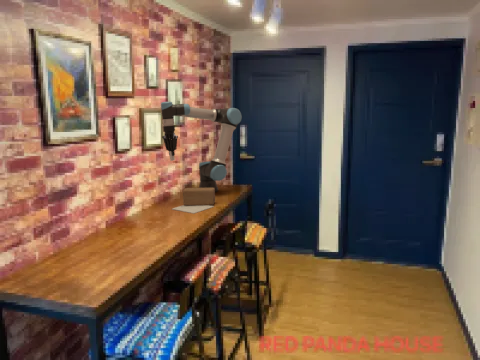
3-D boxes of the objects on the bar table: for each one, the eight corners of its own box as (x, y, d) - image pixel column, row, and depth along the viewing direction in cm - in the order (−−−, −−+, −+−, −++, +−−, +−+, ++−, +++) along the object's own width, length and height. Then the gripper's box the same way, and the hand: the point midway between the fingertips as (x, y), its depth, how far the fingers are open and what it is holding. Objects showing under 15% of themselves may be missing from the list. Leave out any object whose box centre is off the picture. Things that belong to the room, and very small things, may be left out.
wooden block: (185, 202, 250) (215, 201, 249) (183, 205, 240) (213, 205, 240) (185, 187, 248) (214, 187, 248) (182, 190, 239) (213, 189, 238)
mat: (192, 203, 249) (192, 202, 249) (214, 206, 236) (214, 206, 236) (171, 209, 235) (171, 208, 235) (193, 213, 223) (193, 213, 223)
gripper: (157, 126, 247) (161, 161, 252) (171, 125, 239) (175, 161, 244) (166, 125, 253) (169, 159, 257) (179, 124, 245) (183, 159, 250)
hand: (172, 160), depth 251 cm, fingers closed
